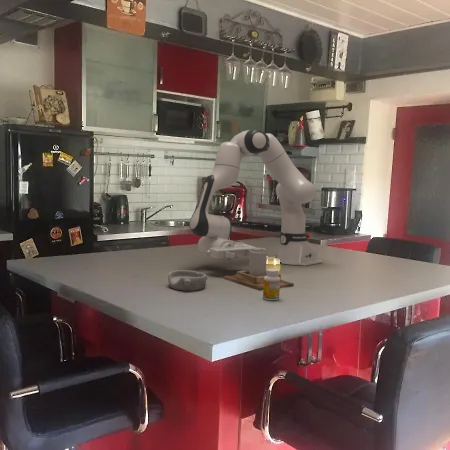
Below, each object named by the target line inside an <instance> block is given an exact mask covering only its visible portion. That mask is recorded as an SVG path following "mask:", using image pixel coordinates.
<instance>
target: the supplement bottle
mask: <svg viewBox="0 0 450 450" xmlns="http://www.w3.org/2000/svg"><path fill="white" fill-rule="evenodd" d="M266 274H267V275H266V276H265V277H264V284H263V290H262V298H263V300H266V301H270V300H275V301H279V300H280V290H281V288H280V277H278V276H277V275H278V274H279V269H276V268H266Z"/></svg>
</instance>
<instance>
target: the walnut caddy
mask: <svg viewBox="0 0 450 450" xmlns="http://www.w3.org/2000/svg"><path fill="white" fill-rule="evenodd" d="M266 275H267V274H266ZM277 276H278V277H280V289H283V287H284V288H289V287H290V288H291V287H294V285H295V284H294V283H293V282H290V281H285V280H282V279H281V276H282V274H280V273H278V275H277ZM264 277H265V276H260V277H255V276H252V275H249V269H248V270H240V271H237V270H236V274H232V275H225V276H224V278H223V279H224V280H228V281H230V282H234V283H237V284H239V285H241V286H245V287H248V288H251V289H254V290H257V291H263V284H264Z"/></svg>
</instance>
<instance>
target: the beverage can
mask: <svg viewBox="0 0 450 450" xmlns="http://www.w3.org/2000/svg"><path fill="white" fill-rule="evenodd" d="M267 255H268V254H267V249H266V248H263V247H256V248H251V251H250V257H249V261H248V263H249V264H248V270H249V275H252V276H255V277H260V276H266V270H267V260H268V259H267V258H268V257H267Z"/></svg>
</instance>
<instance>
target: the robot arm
mask: <svg viewBox="0 0 450 450" xmlns="http://www.w3.org/2000/svg"><path fill="white" fill-rule="evenodd" d="M254 155H258V156H259V158H260V160H261V161H262V163H263V164H264V166H265V167H266V169H267V171H268V172H269V174H270V177H272V178H273V179H274V180H275V181H276V182H277V184H276V187H275V194H276V196H277V198H278V202H279V206H280V212H281V231H280V232H279V242H280V243H279V248H278V252H277V253H278V254H277V258H279V259H280V261H281V263H280V264H283V265H292V266H293V265H296V266H303V267H306V266H311V265H316V264H320V263H323V260H322V259H320V258H319V257H318V250H317V249H316V247H315V246H314V245H312V244H311V243H310V242H309V241H308V239H311V238H312V234H311V233H307V234H306V220H307V219H306V214H305V212H304V210H303V206H302V205H303V204H307V203H310V202H312V201H313V200H314V198H315V197H316V195H317V194H316V193H317V191H316V190H317V189H316V187H315V185H314V184H313V183H312V182H311V181H310V180H308V179H307V178H306V177H305V175H304V174H303V173H302V172H301V171H300V170H299V169H298V168H297V167H296V166H295V164H294V163H293V162H292V160H291V158H290V157H289V155H288V153H287V152H286V150H285V149H284V146H283V145H282V144H281V142H280V141H279V140H278V139H277V137H275V136H274V135H273V134H272V133H270V132H269V133H265V132H264V131H263V130H261V129H258V128H251V129H247V130H243V131H241V132H239V133H236V134H235V135H233V136H232V137H231V138H230V139H229V140H228V141H224V142H222V143H220V145H219V146H218V149H217V153H216V156H215V160H214V165H213V169H212V172H211V174H210V175H208V176H207V177H205V179H204V182H203V184H202V187H201V189H200V192H199V195H198V198H197V203H196V206H195V209H194V211H193V214H192V215H191V217H190V220H189V229H190V231H191V232H192V234H193V235H194V236H195V237H200V238H199V239H198V243H197V247H198V250H199V251H200V252H201V254H202V255H204V256H206V257H210V258H212V259H215V260H219V261H223V262H229V261H232V260H233V259H238V258H250V251H251V248H257V247H256V246H254V245H250V244H248V243H247V244H246V243H244V241H238V240H231V239H229V238H231V236H232V235H231V234H232V231H233V230H232V229H233V227H232V222H231V220H230V219H229V218H228V217H225V216H222V215H221V216H220V215H216V214H211V213H209V208H210V205H211V202H212V198H213V195H214V193H216V192H218V191H219V190H223V189H227V188H231V187H232V186H233V185H235V184H236V183H237V181H238V179H239V174H240V168H241V161H242V159H243V158H247V157H252V156H254ZM229 220H230V221H229ZM277 258H276V259H277Z"/></svg>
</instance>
